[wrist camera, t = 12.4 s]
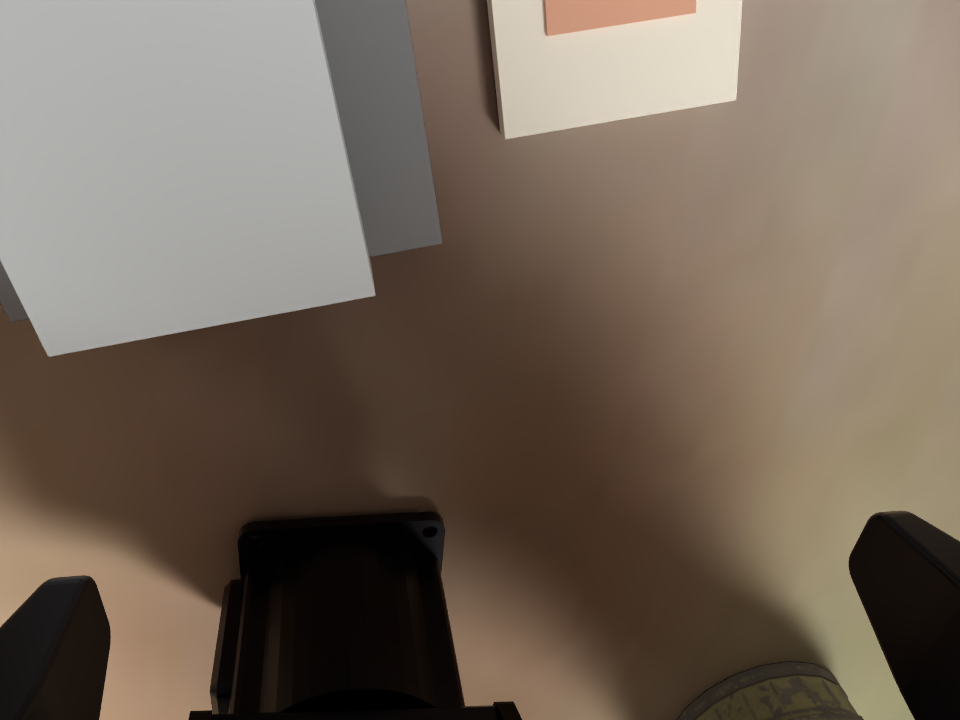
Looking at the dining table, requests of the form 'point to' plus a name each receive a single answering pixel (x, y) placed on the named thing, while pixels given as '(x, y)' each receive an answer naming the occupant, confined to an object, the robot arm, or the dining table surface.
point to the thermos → (775, 696)
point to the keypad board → (367, 128)
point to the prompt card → (609, 59)
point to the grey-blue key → (171, 167)
